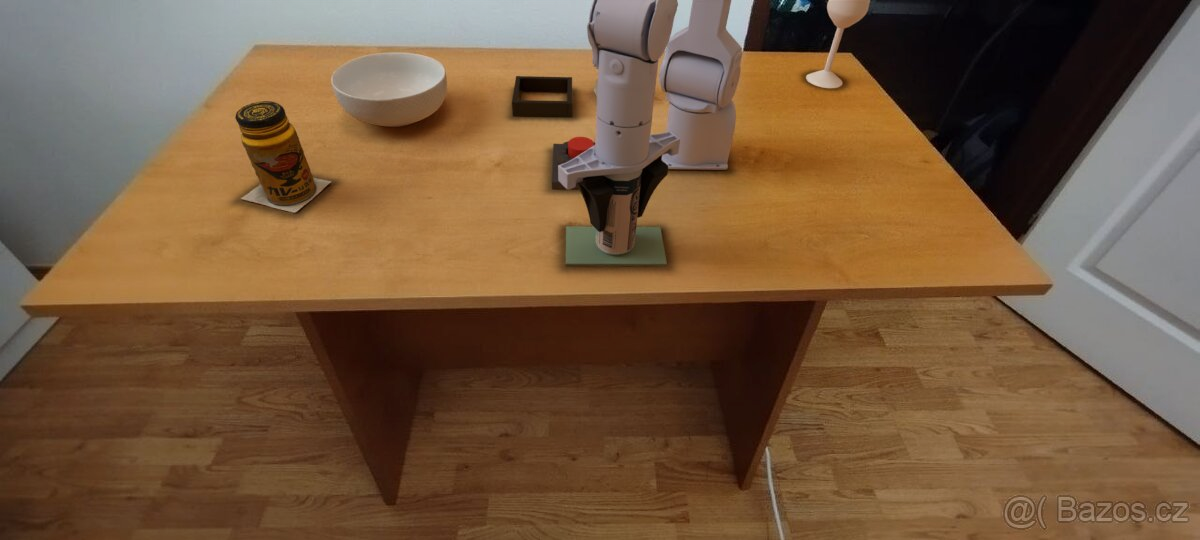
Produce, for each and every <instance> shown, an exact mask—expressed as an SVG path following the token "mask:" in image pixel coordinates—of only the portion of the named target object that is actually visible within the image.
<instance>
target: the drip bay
mask: <svg viewBox="0 0 1200 540" xmlns="http://www.w3.org/2000/svg"><path fill="white" fill-rule="evenodd" d="M523 92H524V93H529V92H530V93H566V100H529V99H525V100H524V99H521V97H522V93H523ZM511 99H512V100H511V108H512V117H520V118H521V117H522V118H523V117H524V118H573V76H534V75H533V76H531V75H530V76H529V75H516V76H515V81H514V86H513V94H512V98H511Z"/></svg>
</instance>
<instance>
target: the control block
mask: <svg viewBox="0 0 1200 540" xmlns="http://www.w3.org/2000/svg"><path fill="white" fill-rule="evenodd" d="M568 142H569V140H567V141H565V142H562V143H553V145H552V167H551V168H552V169H551V190H567V189H566V188H565V187H564V186H563V185H562V184H561V183H560V182H559V181H558V165H561V164H564V163H566V162H568V161H570V160H572V159H574V158H571V157H569V155H568ZM593 142H594V145H595V141H593ZM571 190H577V191H578V190H579V188H578V186H577V184H576V187H574V188H572V189H571ZM579 191H580V190H579Z"/></svg>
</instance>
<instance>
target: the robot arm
mask: <svg viewBox="0 0 1200 540" xmlns="http://www.w3.org/2000/svg"><path fill="white" fill-rule="evenodd" d="M731 5H732V0H692V1H691V8H690V13H689V14H690V15H689V20H688V26H686V27H684V28H682V29H681V30H679V31H677V32H675V33H674V34H673V35H672V31H673V27H674V21H675V16H676V13H677V11H678V6H679V2H678V0H592V3H591V7H590V11H589V18H588V22H587V24H586V34H587V39H588V43H589V45H590V47H591V51H592V64H593V67H594V68H595V69H597V78H598V83H597V97H596V111H595V112H596V114H595V115H596V116H595V138H594V142H595V145H594V146H592V147H591V148H589V149H588V150H586V151H584V152H583V153H581V154H580V155H578V156H577V157H575V158H574V159H572V160H570V161H568V162H566V163H564V164H561V165H558V181H559V182H560V183H561V184H562V185H563V186H564V187H565V188H566V189H565V190H566V191H567V190H568V191H569V190H573V189H572V188H574V187H576V184H577V186H578V188H579V191H580V194H581V196H582V198H583V200H584V203H585V206H586V209H587V213H588V217H589V223H590V224H591V225H592V226H594V227H595V228H596V229H597V231H598V232H601V231H604V230H605V227H606V220H607V209H608V205H609V202H610V199H611V197H612V195H613V193H614V190H612V189H611V188H610V187H609V186H608V185H607V184H606V179H604V178H603V176H604V175H613V174H624V173H632V172H636V171H639V170H641V169H642V177H641V187H640V196H639V206H638V216H637V219H639V218H641V217H643V215H644V213H645V210H646V209H647V207H648V204H649V201H650V199H651V197H652V196H653V194H654V192H655V190H656V189H657V187H658V186H659V185H660V183H662V181H663V180H664V179H665V178H666V177H667V176H668V174H669V170H703V171H705V170H706V171H707V170H708V171H709V170H710V171H713V170H714V171H715V170H716V171H727V170H728V168H729V165H728V161H729V158H730V157H729V156H730V152H731V147H732V143H733V138H734V135H735V129H736V123H737V121H736V119H737V112H736V105H735V102H734V100H733V98H734V96H735V94H736V92H737V89H738V85H739V83H740V77H741V67H742V66H741V64H742V59H743V47H742V46H741V45H740V43H739V42H738V41H737V40H736V39H735V38H734V37H733V36H732V34H730V33H729V31H728V29H727V24H728V19H729V15H730V10H731ZM664 52H665V53H664ZM663 55H664V56H663ZM662 56H663V59H662V61H661V65H660V67H659V60H660V58H661V57H662ZM658 68H660V69H658ZM658 70H659V73H658ZM657 77H658V83H659V86H660V90H661V91H662V92H663V93H666V94H665V101H668V102H669V103H668V110H667V118H666V125H665V131H664V132H661V133H651V132H652V124H653V115H654V106H655V105H654V104H655V95H656V86H657Z"/></svg>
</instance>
